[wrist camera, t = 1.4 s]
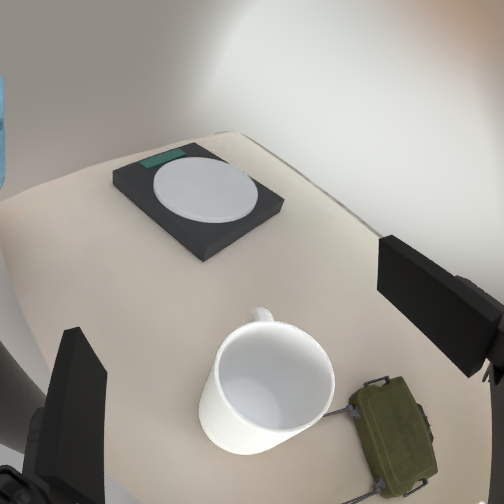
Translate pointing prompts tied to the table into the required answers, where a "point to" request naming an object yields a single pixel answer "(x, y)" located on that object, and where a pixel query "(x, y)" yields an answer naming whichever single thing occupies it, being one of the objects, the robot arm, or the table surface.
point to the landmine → (393, 437)
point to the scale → (197, 197)
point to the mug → (265, 386)
